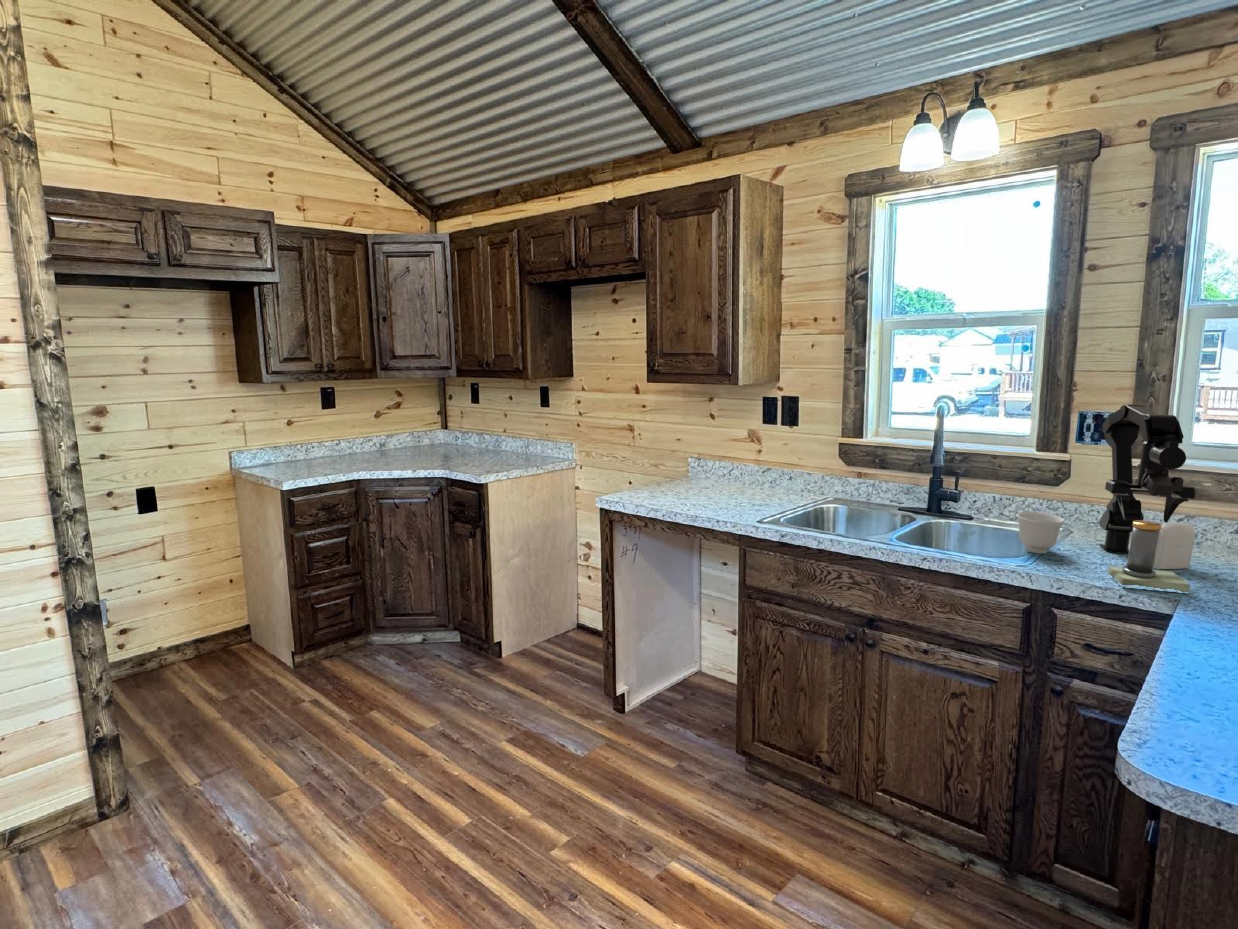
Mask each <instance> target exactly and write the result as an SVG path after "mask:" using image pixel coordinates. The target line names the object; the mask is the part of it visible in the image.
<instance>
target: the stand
mask: <svg viewBox="0 0 1238 929" xmlns="http://www.w3.org/2000/svg"><path fill="white" fill-rule="evenodd" d="M1122 570H1123V566H1115V565H1108V568H1107V573H1108V574H1109V575H1111V576H1112V577H1113V578H1115V579H1116V580H1117V581H1118V582H1120V583H1121V584H1122V585H1139V586H1146V587H1153V588H1160V589H1174V590H1179V591H1181V592H1190V588H1191V585H1190V583H1189V582H1187V581H1186V580H1184V579H1183V578H1182V577H1180V576H1179V575H1177V573H1175V572H1173V571H1171V570H1163V569H1153V571H1155V572H1156V576H1155V578H1150V579H1148V578H1139V577H1134V576H1130V575H1127V574H1125V573H1123V572H1122Z"/></svg>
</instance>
